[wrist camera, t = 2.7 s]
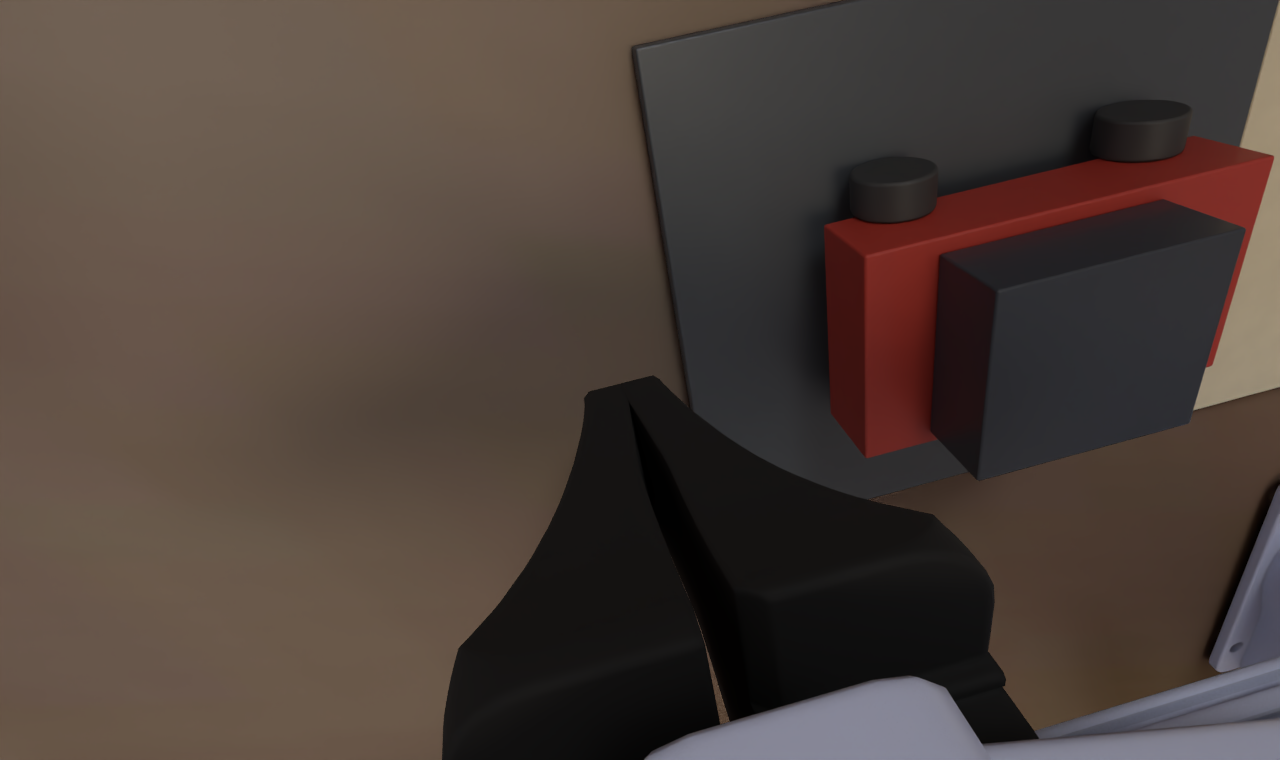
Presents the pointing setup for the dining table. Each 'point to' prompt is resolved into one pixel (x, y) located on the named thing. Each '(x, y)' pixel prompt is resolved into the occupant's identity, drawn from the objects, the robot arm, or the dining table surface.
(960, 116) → the road board
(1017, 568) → the dining table surface
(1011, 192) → the toy car
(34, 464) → the dining table surface
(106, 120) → the dining table surface
